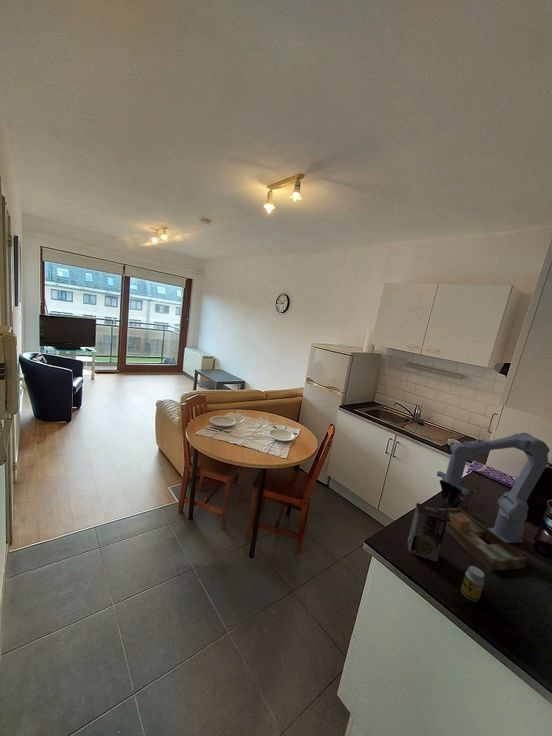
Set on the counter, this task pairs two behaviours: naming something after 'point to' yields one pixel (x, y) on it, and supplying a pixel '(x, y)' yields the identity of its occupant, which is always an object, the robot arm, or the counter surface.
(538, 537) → the counter surface
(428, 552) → the coffee box
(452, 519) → the block
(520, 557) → the trap box
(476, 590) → the supplement bottle
